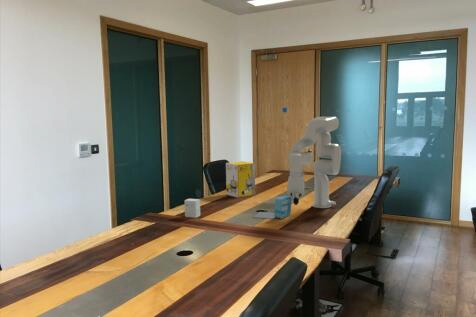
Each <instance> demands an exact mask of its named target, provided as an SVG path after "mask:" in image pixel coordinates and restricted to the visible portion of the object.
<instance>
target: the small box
mask: <svg viewBox="0 0 476 317" xmlns="http://www.w3.org/2000/svg"><path fill="white" fill-rule="evenodd" d="M183 201H184V216H185V218H198V217H200V216H201V199H199V198H187V199H185V200H183Z"/></svg>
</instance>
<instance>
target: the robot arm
mask: <svg viewBox="0 0 476 317" xmlns="http://www.w3.org/2000/svg"><path fill="white" fill-rule="evenodd" d="M339 125H340V121H339V118H338V117H336V116H316V117H314V118H312V119H310V120H309V122H308V124H307V126H306V129H305V131H304V134H303V137H301V138H299V139H298V140H297V141H296V142H295V143H294V144H293V145H292V146H291V149H290V150H289V154H288V162H289V176H288V178H287V193H286V195H287V196H290V197H291V198H292V200H293V204H294V206H298V204H299V203H300V202H299V201H300V197H303V196H305V195H306V192H305V191H306V183H305V175H306V173H305V172H304V171H303V166H308V165H310V164H311V163H312V161H313V155H312V153H309V152H301V150H303V149H305V148H308V147H310V146H313V145H315V144H316V143H317V147H316V154H317V157H319V158H325V159H317V160H314V162H313V164H312V168H313V175H314V176H313V177H314V201H313V202H314V203H312V204H311V206H312V207H313V208H317V209H328V208H331V207H332V205H334V206H335V205H337V204H336V201H333V200H330V178H329V177H328V176H327V175H331V176H337V175H338V174H339V173H340V168H341V161H342V160H341V159H342V148H341V145H339V144H338V143H331V142H332V136H331V135H332V134H331V133H330V132H333V131H336V130H338V128H339Z"/></svg>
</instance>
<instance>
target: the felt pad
mask: <svg viewBox="0 0 476 317" xmlns="http://www.w3.org/2000/svg"><path fill="white" fill-rule="evenodd" d="M252 218H254V219H256V218H257V219H266V220H275V219H276V217H274V212H269V211H268V212H267V211H259V212H257V213H256V214H255V215H254V216H253V217H252Z"/></svg>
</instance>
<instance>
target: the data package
mask: <svg viewBox="0 0 476 317" xmlns="http://www.w3.org/2000/svg"><path fill="white" fill-rule="evenodd" d="M292 200H293V197H292V196H290V195H281V196H278V197H277V198H275V200H274V212H273V213H274V217H276V218H277V219H284V218H287V217H290V215H291V213H292V212H291V211H292ZM276 218H275V219H276Z"/></svg>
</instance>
